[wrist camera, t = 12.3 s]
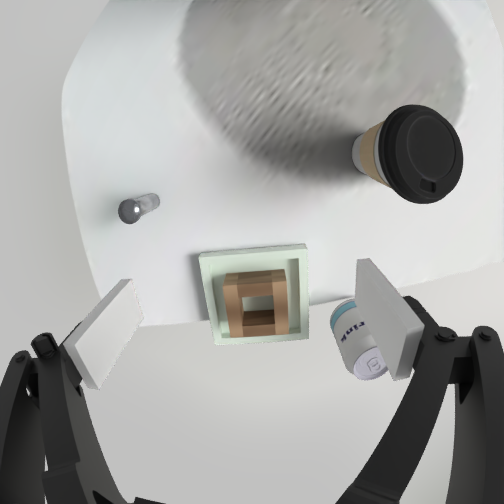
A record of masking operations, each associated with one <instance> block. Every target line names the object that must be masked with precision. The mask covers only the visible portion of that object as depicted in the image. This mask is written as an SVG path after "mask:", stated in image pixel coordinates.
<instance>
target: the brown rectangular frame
mask: <svg viewBox="0 0 504 504" xmlns="http://www.w3.org/2000/svg"><path fill="white" fill-rule="evenodd" d="M222 287H223V293H224V300H225V306H226V313H227V319H228V325H229V331H230V337H231V338H236V337H255V336H270V335H283V334H289V319H288V295H287V279H286V275H285V270H284V269H277V270H264V271H251V272H238V273H226V275H225V279H224V282H223V285H222ZM269 295H273V303H274V309H271V310H257V311H244V309H243V301H242V297H256V296H269Z"/></svg>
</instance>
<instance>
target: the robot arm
mask: <svg viewBox="0 0 504 504" xmlns="http://www.w3.org/2000/svg"><path fill="white" fill-rule="evenodd" d="M355 304H356V306H357V308H358V310H359V312H360V313H361V315H362V317H363V319H364V321H365V323H366V325H367V327H368V329H369V331H370V333H371V335H372V337H373V339H374V341H375V343H376V345H377V347H378V349H379V351H380V353H381V355H382V357H383V359H384V362H385V364H386V366H387V368H388V370H389V372H390V374H391V376H392V379H393V381H396V380H400V379H405V378H408V377H410V374H411V371H412V368H413V369H414V370H415V372H414V374H413V377H412V379H411V381H410V384H409V386H408V388H407V390H406V392H405V395H404V397H403V399H402V401H401V403H400V405H399V407H398V409H397V411H396V413H395V415H394V417H393V419H392V421H391V422H390V425H389V426H388V428H387V430H386V432H385V433H384V435H383V437H382V439H381V440H380V442H379V444H378V445H377V447H376V449H375V450H374V452H373V454H372V455H371V457H370V458H369V460H368V462H367V463H366V464H365V466H364V468H363V469H362V470H361V472H360V473H359V475H358V476H357V478H356V479H355V480H354V482H353V483H352V484H351V485H350V486H349V487H348V488H347V490H346V491H345V492H344V493H343V495H342V496H341V497H340V498H339V500H338V501H337V502H336V503H335V504H399V500H400V498H401V496H402V494H403V492H404V490H405V489H406V487H407V485H408V483H409V481H410V479H411V477H412V476H413V474H414V472H415V469H416V467H417V465H418V463H419V461H420V459H421V457H422V455H423V452H424V450H425V448H426V445H427V443H428V441H429V438H430V436H431V433H432V430H433V428H434V425H435V423H436V420H437V417H438V414H439V411H440V408H441V405H442V402H443V399H444V395H445V392H446V389H447V385H448V384H455V435H454V449H453V461H452V470H451V476H450V483H449V489H448V494H447V499H446V504H504V352H503V349H502V346H501V342H500V339H499V336H498V334H497V332H496V331H495V330H494V329H492V328H490V327H488V326H478V327H476V328H475V329H474V331H473V333H472V336H469V337H458V336H457V334H456V332H454V331H453V330H452V329H450V328H447V327H439V326H438V324H437V323H436V322H435V321H434V319H433V318H432V317H431V316H430V315H429V313H428V312H426V310H425V309H424V308H423V307H422V305H421V304H420V303H419V302H418V301H417V300H416V299H414V298H412V297H411V296H405V297H402V296H401V295H400V294H399V293H398V291H397V290H396V289H395V288H394V286H393V285H392V284H391V283H390V282H389V281H388V279H387V278H386V277H385V276H384V275H383V273H382V272H381V271H380V270H379V269H378V268H377V266H376V265H375V264H374V263H373V262H372V261H371V260H370V258H367V259H358V260H357V268H356V289H355ZM143 318H144V316H143V313H142V310H141V307H140V304H139V301H138V298H137V294H136V291H135V288H134V284H133V281H132V279H122V280H121V281H120V282H119V283H118V284H117V285H116V286H115V287H114V288H113V289H112V290H111V291H110V292H109V293H108V294H107V295H106V296H105V297H104V298H103V299H102V300H101V302H100V303H99V304H98V305H97V306H96V307H95V308H94V309H93V310H92V312H90V314H89V315H88V316H87V317H86V318H85V319H84V320H83V321H82V322H80V323H79V324H78V325H77V326H76V327H75V328H74V330H72V332H71V333H70V334H69V335H68V336H67V337H66V338H65V340H64V341H63V342H62V343H61V344H60V346H59V347H58V345H57V343H56V341H55V340H54V338H53V336H52V334H51V333H42V334H40V335H38V336H37V337H35V338H34V339H33V340H32V342H31V346H32V348H33V349H34V351H35V353H36V355H37V357H38V358H31V356H30V354H29V352H28V351H26V350H25V351H19V352H18V353H16V354H15V355H14V356H13V357H12V359H11V361H10V363H9V366H8V368H7V371H6V373H5V375H4V378H3V381H2V383H1V386H0V504H45V496H46V500H47V504H164V503H160V502H155V501H150V500H146V499H142V498H138V497H135V501H134V503H127V502H126V501H125V500H124V499H123V497H122V496H121V494H120V493H119V491H118V489H117V487H116V484H115V482H114V480H113V478H112V476H111V473H110V471H109V468H108V466H107V464H106V461H105V459H104V456H103V453H102V451H101V448H100V445H99V443H98V440H97V437H96V434H95V431H94V428H93V425H92V421H91V419H90V415H89V412H88V408H87V404H86V401H85V397H84V393H83V389H82V387H81V386H80V382H81V380H82V379H83V381H84V382H85V384H86V386H87V387H88V388H92V389H97V390H100V388H101V386H102V385H103V383H104V381H105V380H106V378H107V376H108V374H109V373H110V371H111V369H112V368H113V366H114V364H115V363H116V361H117V359H118V357H119V356H120V355H121V353H122V351H123V350H124V348H125V346H126V345H127V343H128V342H129V340H130V338H131V337H132V335H133V334H134V332H135V330H136V329H137V327H138V326H139V324H140V323H141V321H142V319H143ZM26 388H27V389H28V391H29V392H30V395H29V396H28V394H27V390H26ZM45 454H46V460H47V465H48V471H45Z"/></svg>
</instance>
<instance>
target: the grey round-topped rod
mask: <svg viewBox="0 0 504 504" xmlns="http://www.w3.org/2000/svg"><path fill="white" fill-rule="evenodd" d="M159 204H160V199H159V197H158V196H157V195H156V194H149V195H146V196H143V197H140V198H137V199H135V200H134V199H127V200H125V201H123V202H122V203H121V204H120V206H119V209H118V214H119V217H120V219H121V220H122V221H123V222H124V223H126V224H133V223H135V222H137V221H138V220H139V219H140V217H141V216H143V215H144V214H146V213H148V212H150V211H152V210H154V209H156V208H157V207H158V206H159Z"/></svg>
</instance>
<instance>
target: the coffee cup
mask: <svg viewBox="0 0 504 504" xmlns="http://www.w3.org/2000/svg"><path fill="white" fill-rule="evenodd" d="M352 160H353V163H354V165H355V167H356V168H357V169H358V170H359V171H361V172H362V173H364V174H366V175H368V176H370V177H371V178H372V179H374V180H376V181H378V182H380V183H382V184H384V185H386V186H388V187H390V188H392V189H393V190H394V191H395V192H396V193H397V194H398V195H399V196H401V197H402V198H404V199H406V200H408V201H410V202H413V203H417V204H429V203H434V202H437V201H439V200H441V199H442V198H444V197H445V196H446V195H447V194H448V193H450V192H451V191H452V190H453V189H454V188H455V186H456V185H457V183H458V181H459V179H460V176H461V173H462V168H463V151H462V146H461V142H460V139H459V137H458V135H457V133H456V131H455V129H454V128H453V126H452V125H451V124H450V123H449V122H448V121H447V120H446V119H445V118H444V117H442V116H441V115H440V114H439V113H438V112H436V111H435V110H433V109H431V108H429V107H426V106H422V105H405V106H402V107H399V108H397V109H396V110H394V111H393V112H392V113H391V114H390V115H389V116H388V117H387V118H386V120H385V121H383V122H381V123H379V124H377V125H375V126H374V127H372V128H370V129H369V130H368V131H367V132H365V133H364V134H362V135H360V136H359V137H358V138H357V139H356V140H355V142H354V144H353V147H352Z"/></svg>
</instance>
